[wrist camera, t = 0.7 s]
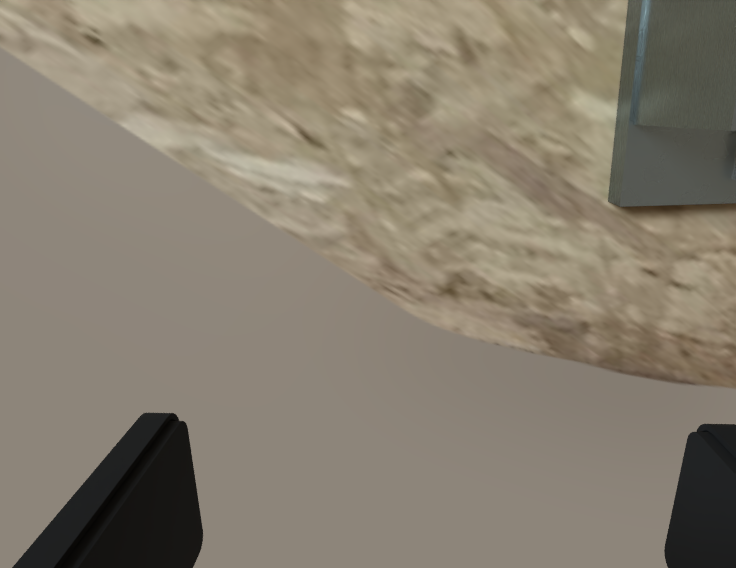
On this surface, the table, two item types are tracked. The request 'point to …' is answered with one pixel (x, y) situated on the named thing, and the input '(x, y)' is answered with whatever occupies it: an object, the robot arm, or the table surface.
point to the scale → (676, 105)
